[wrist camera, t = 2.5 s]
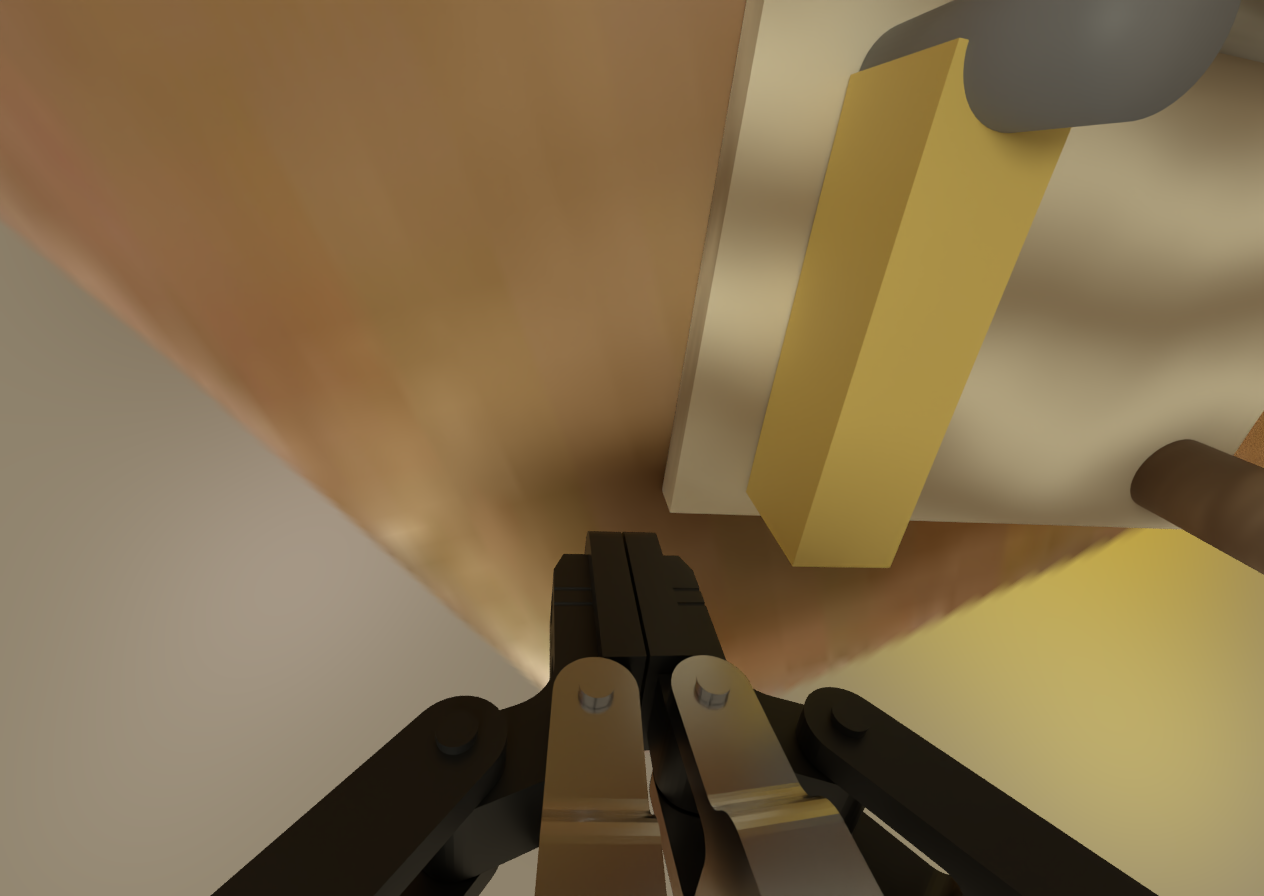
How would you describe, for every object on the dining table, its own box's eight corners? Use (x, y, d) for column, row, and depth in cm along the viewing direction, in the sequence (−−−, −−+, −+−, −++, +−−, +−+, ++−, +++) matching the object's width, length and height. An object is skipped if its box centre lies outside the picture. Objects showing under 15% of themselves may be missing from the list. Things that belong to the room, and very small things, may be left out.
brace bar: (866, 9, 13) (1120, -125, 7) (977, 32, 13) (1293, -74, 8) (745, 492, 18) (832, 631, 13) (826, 495, 19) (944, 629, 13)
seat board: (780, -198, 12) (987, -533, 6) (1471, -2, 16) (1985, -102, 10) (662, 490, 20) (707, 617, 14) (1147, 509, 24) (1338, 615, 18)
